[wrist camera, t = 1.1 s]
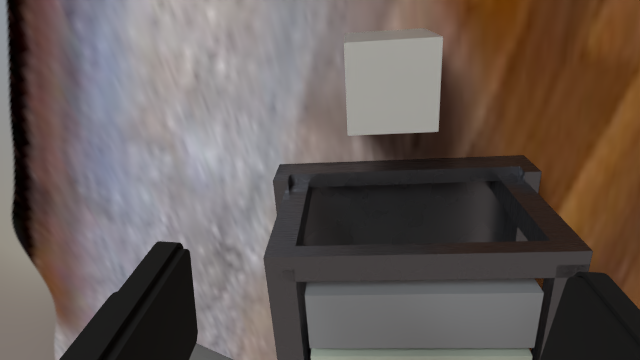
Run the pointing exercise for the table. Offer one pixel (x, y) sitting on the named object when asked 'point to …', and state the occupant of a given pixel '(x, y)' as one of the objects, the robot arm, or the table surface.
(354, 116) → the matte off-white cube
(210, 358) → the gray half cylinder
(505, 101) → the table surface
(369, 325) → the trapdoor
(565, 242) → the trapdoor frame
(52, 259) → the table surface
